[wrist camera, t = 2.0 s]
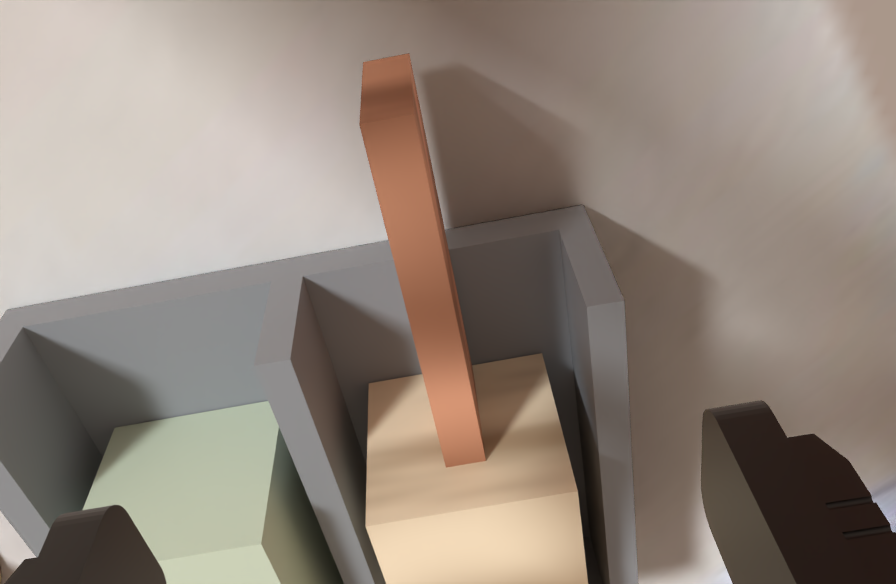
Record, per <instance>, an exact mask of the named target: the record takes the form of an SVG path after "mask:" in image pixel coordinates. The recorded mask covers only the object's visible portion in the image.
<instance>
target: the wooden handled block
mask: <svg viewBox="0 0 896 584" xmlns="http://www.w3.org/2000/svg"><path fill="white" fill-rule="evenodd" d="M360 128H361V132H362V136H363V140H364V144H365V148H366V152H367V156H368V160H369V164H370V168H371V172H372V176H373V180H374V184H375V188H376V192H377V196H378V200H379V204H380V208H381V212H382V216H383V220H384V224H385V228H386V232H387V236H388V240H389V244H390V248H391V252H392V256H393V259H394V263H395V267H396V271H397V275H398V279H399V283H400V287H401V291H402V295H403V299H404V303H405V307H406V311H407V315H408V319H409V323H410V327H411V331H412V335H413V339H414V343H415V347H416V351H417V355H418V359H419V363H420V367H421V371H422V374H419V375H414V376H408V377H402V378H396V379H391V380H385V381H379V382H374V383H369V390H368V435H367V480H366V525H365V527H366V529H367V532H368V535H369V538H370V540H371V543H372V546H373V549H374V551H375V554H376V557H377V560H378V563H379V565H380V568H381V571H382V574H383V576H384V579H385V582H386V584H588V578H587V569H586V560H585V551H584V542H583V533H582V524H581V515H580V506H579V497H578V490H577V486H576V482H575V478H574V475H573V471H572V467H571V463H570V459H569V455H568V451H567V448H566V444H565V440H564V436H563V432H562V428H561V424H560V421H559V417H558V413H557V409H556V405H555V401H554V397H553V394H552V390H551V386H550V382H549V378H548V374H547V370H546V367H545V363H544V359H543V355H542V353H540V354H534V355H528V356H522V357H517V358H511V359H505V360H500V361H494V362H488V363H482V364H477V365H472V363H471V358H470V353H469V348H468V344H467V339H466V334H465V329H464V324H463V319H462V314H461V309H460V304H459V299H458V294H457V289H456V284H455V279H454V274H453V269H452V264H451V259H450V254H449V249H448V244H447V239H446V234H445V229H444V224H443V219H442V214H441V209H440V204H439V199H438V194H437V189H436V184H435V179H434V174H433V170H432V165H431V160H430V155H429V150H428V145H427V140H426V135H425V130H424V125H423V120H422V115H421V110H420V105H419V100H418V95H417V90H416V85H415V80H414V75H413V70H412V65H411V60H410V55H409V54H403V55H398V56H393V57H388V58H383V59H377V60H372V61H367V62H363V75H362V91H361V108H360Z"/></svg>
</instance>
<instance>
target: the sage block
mask: <svg viewBox="0 0 896 584" xmlns="http://www.w3.org/2000/svg"><path fill="white" fill-rule="evenodd" d="M111 505H120V506H122V507H123V508H124V509H125V510H126V511H127V513H128V514H129V516H130V517H131V519H132V521H133V522H134V524H135V525H136V527H137V529H138V530H139V532H140V534H141V535H142V537H143V539H144V540H145V542H146V543H147V545H148V547H149V548H150V550H151V552H152V553H153V555H154V556H155V558H156V560H157V561H158V563H159V565H160V566H161V568H162V570H163V572H164V575H165V579H166V584H344V582H343V580H342V577H341V575H340V573H339V570H338V568H337V565H336V563H335V561H334V558H333V556H332V553H331V551H330V548H329V546H328V544H327V541H326V539H325V536H324V534H323V532H322V529H321V527H320V524H319V522H318V520H317V517H316V515H315V512H314V510H313V508H312V505H311V503H310V500H309V498H308V495H307V493H306V491H305V488H304V486H303V483H302V481H301V479H300V476H299V474H298V471H297V469H296V467H295V464H294V462H293V459H292V457H291V455H290V452H289V450H288V447H287V445H286V442H285V440H284V438H283V435H282V433H281V430H280V428H279V426H278V423H277V421H276V418H275V416H274V414H273V411H272V409H271V406H270V404H269V402H268V401H265V402H259V403H253V404H247V405H242V406H236V407H230V408H225V409H219V410H213V411H207V412H202V413H196V414H190V415H184V416H179V417H173V418H167V419H162V420H156V421H150V422H144V423H139V424H133V425H127V426H121V427H116V428H114V431H113V433H112V436H111V438H110V441H109V443H108V446H107V448H106V451H105V454H104V456H103V459H102V461H101V464H100V466H99V469H98V472H97V474H96V477H95V479H94V482H93V484H92V487H91V489H90V492H89V495H88V497H87V500H86V502H85V505H84V507H83V510H87V509H93V508H99V507H105V506H111Z"/></svg>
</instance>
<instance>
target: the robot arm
mask: <svg viewBox="0 0 896 584" xmlns="http://www.w3.org/2000/svg"><path fill="white" fill-rule="evenodd" d="M701 492H702V499H703V504H704V509H705V513H706V517H707V520H708V524H709V527H710V529H711V532H712V534H713V537H714V539H715V542H716V544H717V547H718V549H719V551H720V554H721V556H722V559H723V561H724V564H725V566H726V568H727V571H728V573H729V576H730V578H731V581H732V583H733V584H896V533H895V532H894V533H893V532H892V531H891V528H890V524H889V522H888V520H887V519H886V517H885V516H884V514H883V513H882V511H881V510H880V508H879V507H878V505H877V503H873V501H872V498H871V494H870V493H869V491H868V490H867V488H866V486H865V485H864V483H863V482H862V480H861V479H860V477H859V476H858V474H857V473H856V471H855V469H854V468H853V466H852V465H851V463H850V462H849V461H848V460H847V459H846V458H845V457H843V456H842V455H841V454H839V453H838V452H837V451H835V450H834V449H833V448H832V447H830V446H829V445H828V444H826V443H825V442H824V441H822V440H821V439H820V438H818V437H817V436H816V435H815V434H808V435H802V436H795V437H789V438H787V436H786V435H785V433H784V431H783V430H782V428H781V426H780V424H779V423H778V421H777V419H776V417H775V416H774V414H773V412H772V411H771V409H770V408H769V406H768V405H767V404H766V403H765V402H764V401H755V402H749V403H743V404H737V405H731V406H725V407H719V408H712V409H706V410H705V411H704V414H703V424H702V463H701ZM5 584H166V579H165V575H164V572H163V570H162V568H161V566H160V565H159V563H158V561H157V560H156V558H155V556H154V555H153V553H152V552H151V550H150V548H149V547H148V545H147V543H146V542H145V540H144V539H143V537H142V535H141V534H140V532H139V530H138V529H137V527H136V525H135V524H134V522H133V521H132V519H131V517H130V516H129V514H128V513H127V511H126V510H125V509H124V508H123V507H122V506H120V505H111V506H105V507H99V508H93V509H87V510H81V511H75V512H69V513H63V514H61V515H60V516H58V517H57V518H56V520H55V521H54V522H53V524H52V526H51V528H50V530H49V533H48V535H47V537H46V540H45V542H44V544H43V546H42V549H41V551H40V553H39V556H38V557H37V558H31V559H25V560H24V561H23V562H22V564H21V565H20V566H19V567H18V568H17V569H16V571H15V572H14V573H13V574H12V575H11V577H10V578H9V579H8V580H7V581H6V583H5Z"/></svg>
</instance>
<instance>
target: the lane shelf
mask: <svg viewBox="0 0 896 584" xmlns="http://www.w3.org/2000/svg"><path fill="white" fill-rule="evenodd" d="M445 234H446V239H447V244H448V249H449V254H450V259H451V264H452V269H453V274H454V279H455V284H456V289H457V294H458V299H459V304H460V309H461V314H462V319H463V324H464V329H465V334H466V339H467V344H468V348H469V353H470V358H471V363H472V365H477V364H482V363H488V362H494V361H500V360H505V359H511V358H517V357H522V356H528V355H534V354H540V353H542V355H543V359H544V363H545V367H546V370H547V374H548V378H549V382H550V386H551V390H552V394H553V397H554V401H555V405H556V409H557V413H558V417H559V421H560V424H561V428H562V432H563V436H564V440H565V444H566V448H567V451H568V455H569V459H570V463H571V467H572V471H573V475H574V478H575V482H576V486H577V490H578V497H579V506H580V515H581V524H582V533H583V542H584V551H585V560H586V569H587V578H588V584H638V569H637V548H636V528H635V507H634V486H633V466H632V445H631V425H630V404H629V384H628V363H627V343H626V322H625V301H624V298H623V296H622V294H621V291H620V289H619V287H618V284H617V282H616V280H615V277H614V275H613V273H612V270H611V268H610V266H609V263H608V261H607V259H606V256H605V254H604V252H603V249H602V247H601V245H600V242H599V240H598V238H597V236H596V233H595V231H594V229H593V226H592V224H591V222H590V219H589V217H588V215H587V212H586V210H585V208H584V205H579V206H574V207H568V208H563V209H558V210H552V211H547V212H541V213H536V214H530V215H525V216H519V217H514V218H508V219H503V220H497V221H492V222H486V223H481V224H475V225H470V226H464V227H459V228H453V229H448V230H445ZM419 374H422V371H421V367H420V363H419V359H418V355H417V351H416V347H415V343H414V339H413V335H412V331H411V327H410V323H409V319H408V315H407V311H406V307H405V303H404V299H403V295H402V291H401V287H400V283H399V279H398V275H397V271H396V267H395V263H394V259H393V256H392V252H391V248H390V244H389V240H387V241H382V242H376V243H371V244H365V245H360V246H354V247H349V248H343V249H338V250H332V251H327V252H321V253H316V254H310V255H305V256H299V257H294V258H288V259H283V260H277V261H272V262H267V263H261V264H256V265H250V266H245V267H239V268H234V269H228V270H223V271H217V272H212V273H206V274H201V275H195V276H190V277H184V278H179V279H173V280H168V281H162V282H157V283H151V284H146V285H140V286H135V287H129V288H124V289H118V290H113V291H107V292H102V293H96V294H91V295H85V296H80V297H74V298H69V299H63V300H58V301H52V302H47V303H41V304H36V305H30V306H25V307H19V308H14V309H8V310H6V312H5V313H4V315H3V316H2V318H1V319H0V511H1V512H2V513H3V515H4V516H5V517H6V518H7V520H8V521H9V522H10V524H11V525H12V526H13V527H14V529H15V530H16V531H17V533H18V534H19V535H20V537H21V538H22V539H23V540H24V542H25V543H26V544H27V546H28V547H29V548H30V549H31V551H32V552H33V553H34V555H35V556H36V557H38V556H39V553H40V551H41V549H42V546H43V544H44V542H45V540H46V537H47V535H48V533H49V530H50V528H51V526H52V524H53V522H54V521H55V520H56V518H57V517H58V516H60V515H61V514H63V513H69V512H75V511H81V510H83V507H84V505H85V502H86V500H87V497H88V495H89V492H90V489H91V487H92V484H93V482H94V479H95V477H96V474H97V472H98V469H99V466H100V464H101V461H102V459H103V456H104V454H105V451H106V448H107V446H108V443H109V441H110V438H111V436H112V433H113V431H114V428H116V427H121V426H127V425H133V424H139V423H144V422H150V421H156V420H162V419H167V418H173V417H179V416H184V415H190V414H196V413H202V412H207V411H213V410H219V409H225V408H230V407H236V406H242V405H247V404H253V403H259V402H265V401H268V402H269V404H270V406H271V409H272V411H273V414H274V416H275V418H276V421H277V423H278V426H279V428H280V430H281V433H282V435H283V438H284V440H285V442H286V445H287V447H288V450H289V452H290V455H291V457H292V459H293V462H294V464H295V467H296V469H297V471H298V474H299V476H300V479H301V481H302V483H303V486H304V488H305V491H306V493H307V495H308V498H309V500H310V503H311V505H312V508H313V510H314V512H315V515H316V517H317V520H318V522H319V524H320V527H321V529H322V532H323V534H324V536H325V539H326V541H327V544H328V546H329V548H330V551H331V553H332V556H333V558H334V561H335V563H336V565H337V568H338V570H339V573H340V575H341V577H342V580H343V582H344V584H386V582H385V579H384V576H383V574H382V571H381V568H380V565H379V563H378V560H377V557H376V554H375V551H374V549H373V546H372V543H371V540H370V538H369V535H368V532H367V529H366V527H365V525H366V480H367V435H368V390H369V383H374V382H379V381H385V380H391V379H396V378H402V377H408V376H414V375H419Z"/></svg>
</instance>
